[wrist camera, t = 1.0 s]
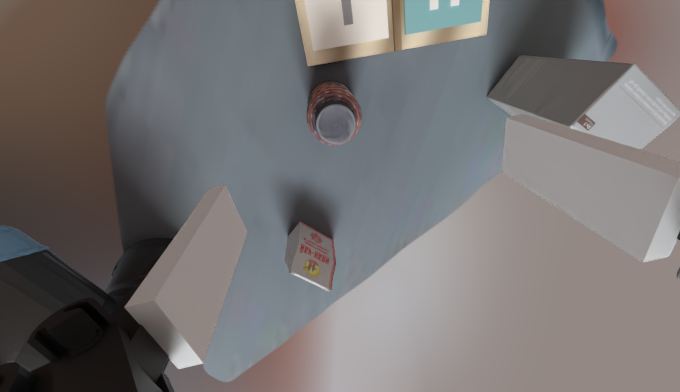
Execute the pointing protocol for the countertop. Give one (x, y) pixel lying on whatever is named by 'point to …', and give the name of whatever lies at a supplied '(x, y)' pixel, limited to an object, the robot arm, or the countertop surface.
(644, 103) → the skincare box
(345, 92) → the supplement bottle
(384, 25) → the cream pad
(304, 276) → the white product box
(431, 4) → the teal pad
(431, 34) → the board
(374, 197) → the countertop surface
